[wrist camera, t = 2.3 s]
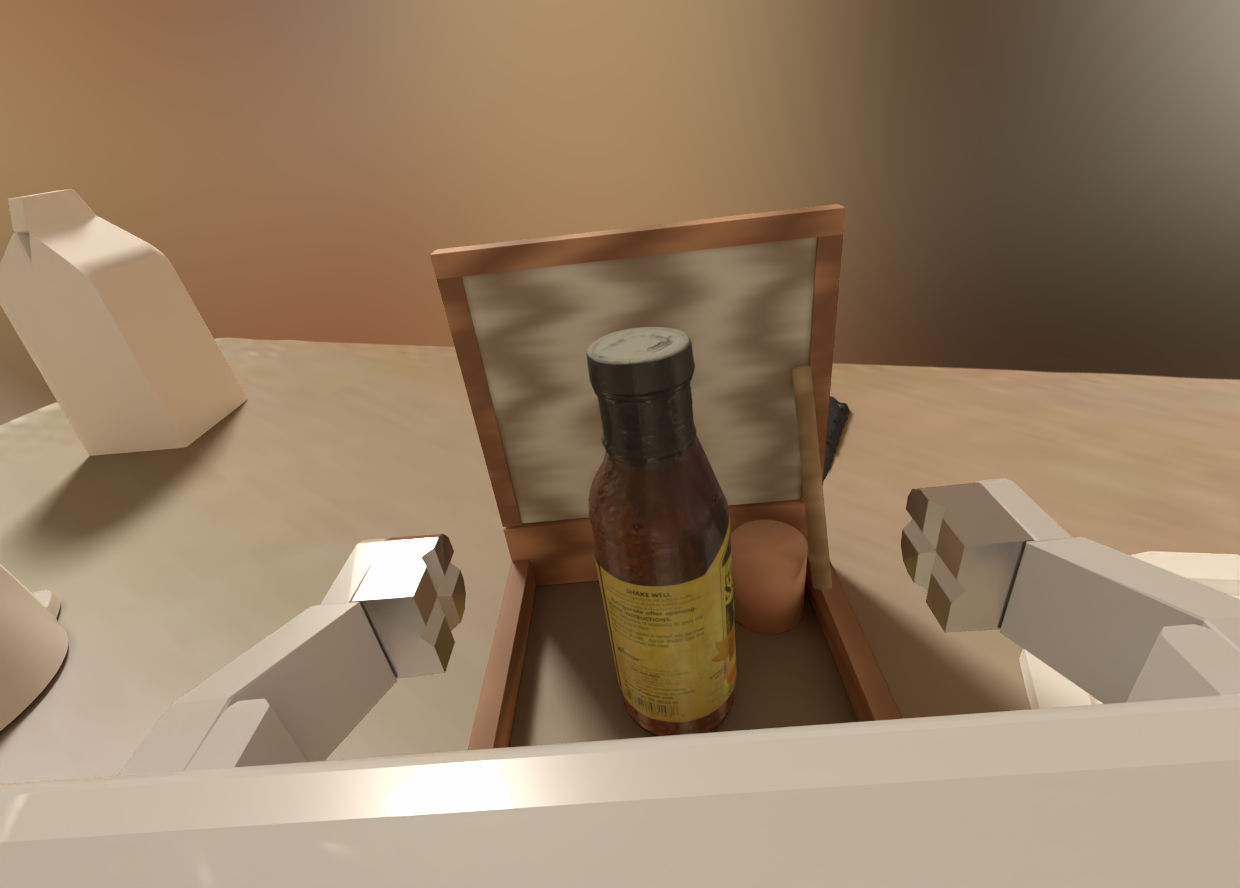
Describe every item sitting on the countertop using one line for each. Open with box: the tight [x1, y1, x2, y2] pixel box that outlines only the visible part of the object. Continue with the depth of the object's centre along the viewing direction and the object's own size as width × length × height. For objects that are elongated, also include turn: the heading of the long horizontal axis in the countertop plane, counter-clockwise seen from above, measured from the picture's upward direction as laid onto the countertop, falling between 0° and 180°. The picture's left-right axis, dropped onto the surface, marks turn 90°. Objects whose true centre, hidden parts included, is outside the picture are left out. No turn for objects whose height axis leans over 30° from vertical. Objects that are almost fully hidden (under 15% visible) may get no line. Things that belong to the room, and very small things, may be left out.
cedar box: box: [430, 204, 902, 750], centre depth 27 cm, size 20×18×22 cm
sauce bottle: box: [586, 327, 737, 736], centre depth 26 cm, size 6×6×20 cm
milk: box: [0, 189, 248, 456], centre depth 63 cm, size 12×12×26 cm
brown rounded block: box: [731, 520, 808, 634], centre depth 35 cm, size 4×4×5 cm
